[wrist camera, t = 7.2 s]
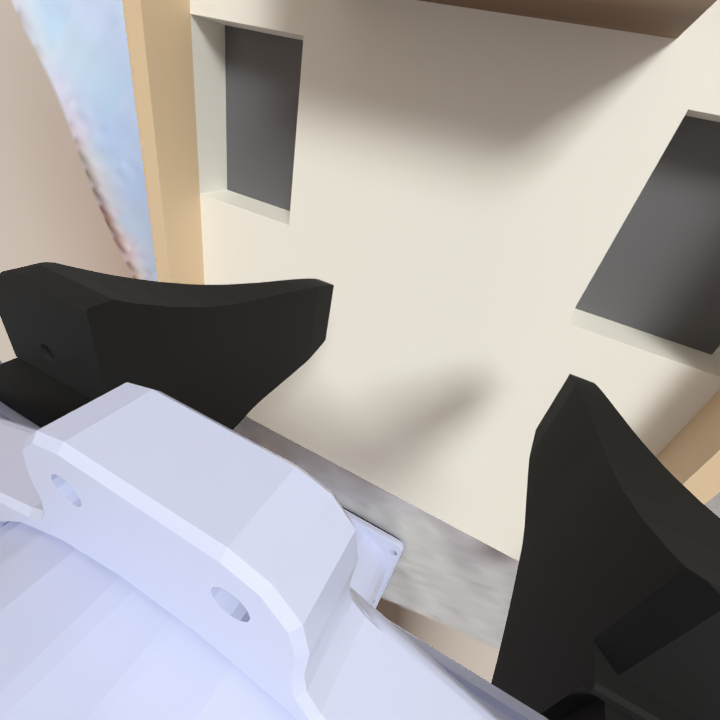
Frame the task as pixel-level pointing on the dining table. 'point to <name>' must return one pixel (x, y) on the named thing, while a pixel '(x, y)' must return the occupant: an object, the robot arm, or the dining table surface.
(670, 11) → the walnut block
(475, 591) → the dining table surface
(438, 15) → the shallow cream tray
